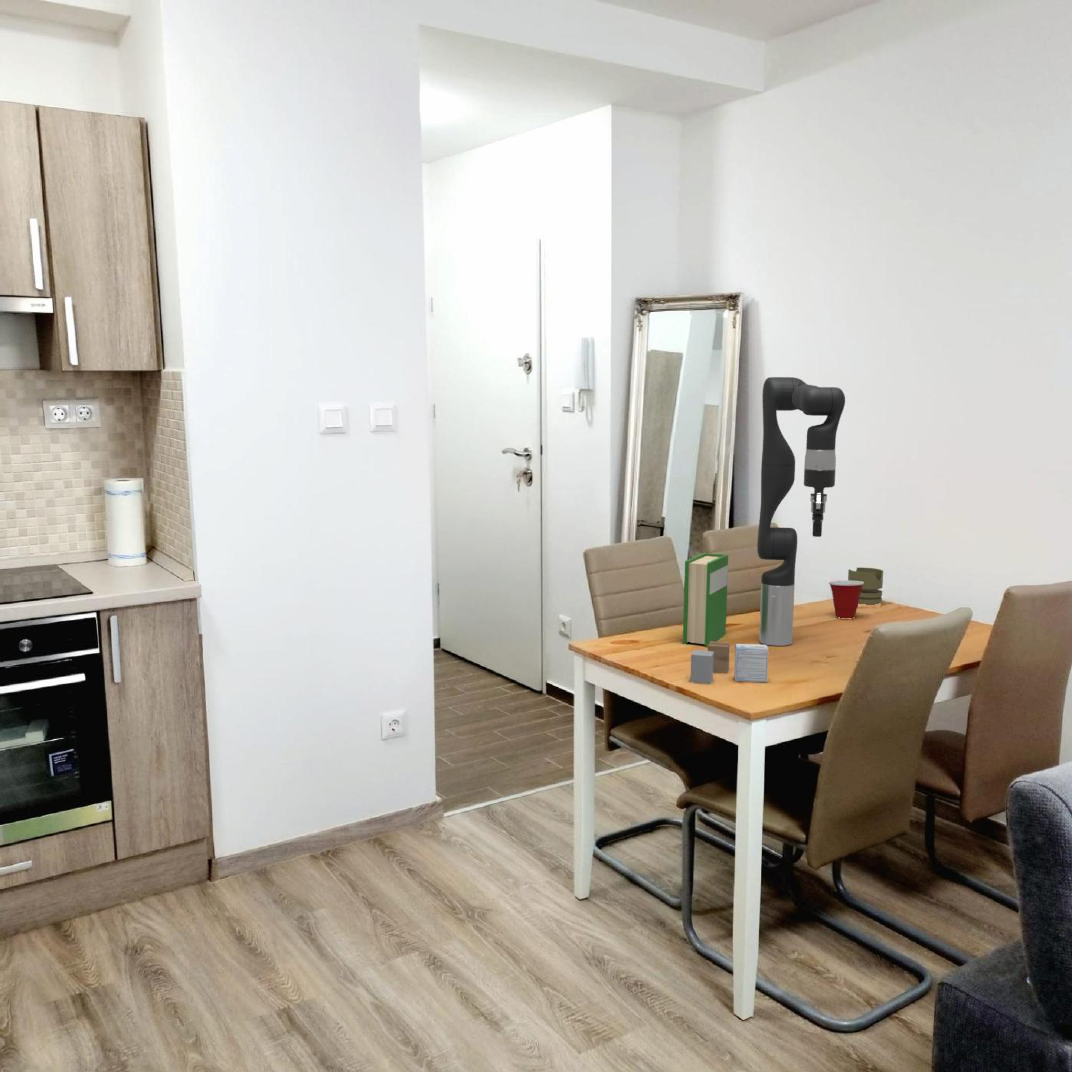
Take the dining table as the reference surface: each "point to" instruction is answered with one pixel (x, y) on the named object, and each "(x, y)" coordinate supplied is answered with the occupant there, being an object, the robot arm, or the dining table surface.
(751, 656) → the medicine box
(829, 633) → the dining table surface
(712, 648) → the walnut block
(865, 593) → the piston
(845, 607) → the plastic cup
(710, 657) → the slate grey block
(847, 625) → the dining table surface
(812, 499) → the robot arm
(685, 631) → the hardback book
